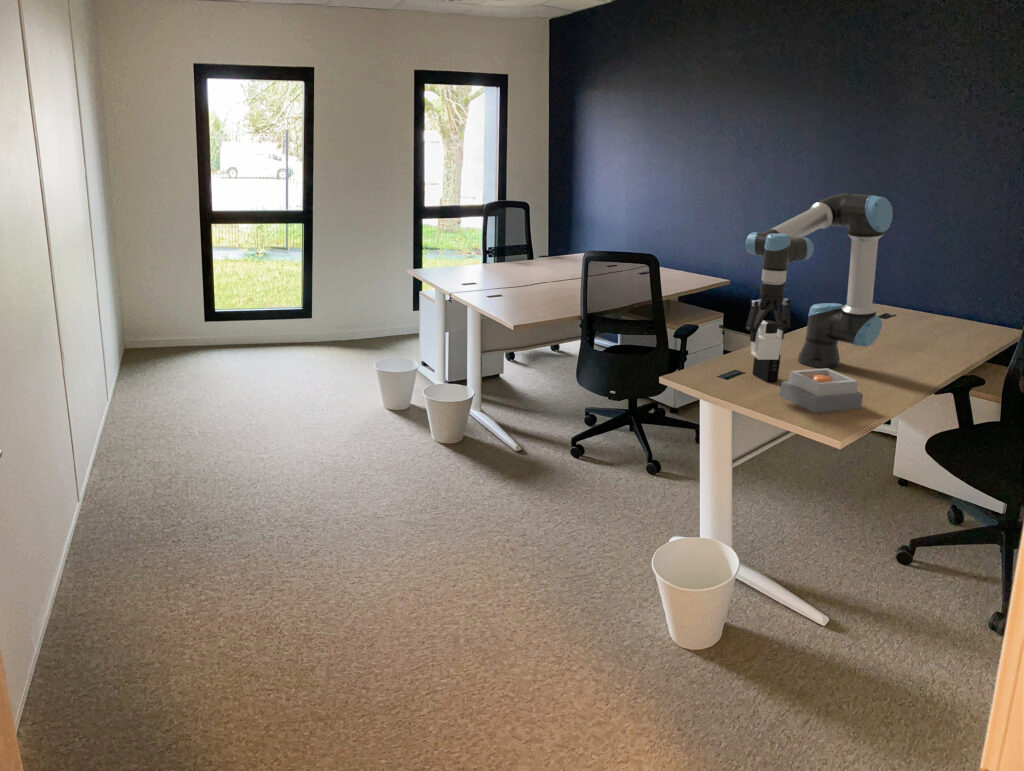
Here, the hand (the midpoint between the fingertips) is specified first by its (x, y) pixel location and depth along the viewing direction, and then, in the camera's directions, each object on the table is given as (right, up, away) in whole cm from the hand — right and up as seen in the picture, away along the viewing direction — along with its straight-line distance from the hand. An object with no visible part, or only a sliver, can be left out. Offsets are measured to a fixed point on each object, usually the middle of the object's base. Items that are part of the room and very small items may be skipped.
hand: (765, 349), depth 277 cm
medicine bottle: (0, -2, +1) cm, 3 cm away
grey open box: (+17, -17, -2) cm, 25 cm away
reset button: (+17, -14, -3) cm, 23 cm away
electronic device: (+7, -9, +23) cm, 26 cm away
